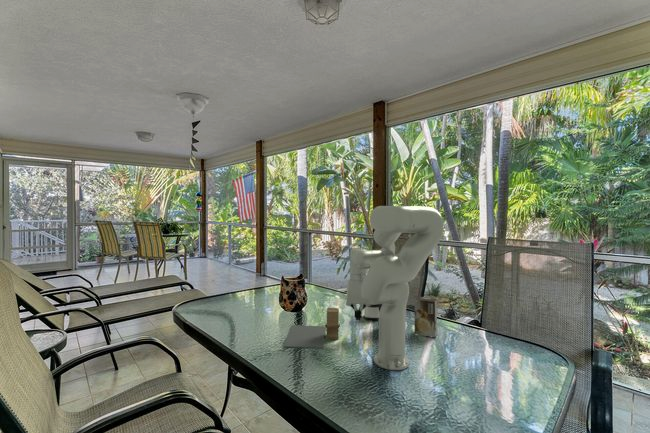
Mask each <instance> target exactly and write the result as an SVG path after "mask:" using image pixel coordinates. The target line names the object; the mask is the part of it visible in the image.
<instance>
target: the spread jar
mask: <svg viewBox="0 0 650 433" xmlns="http://www.w3.org/2000/svg"><path fill="white" fill-rule="evenodd" d="M357 309H358V310H359V308H357ZM363 312H364V318H365V319H366V320H368V321H377V320H378V321H379V304H377V305H371V306H369V307H365V308H364V309H363V310H362V314H363Z"/></svg>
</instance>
